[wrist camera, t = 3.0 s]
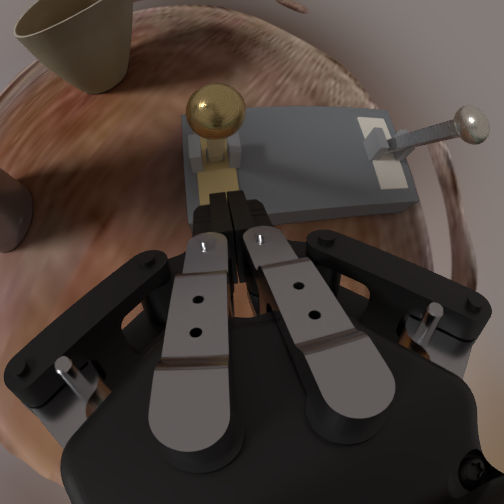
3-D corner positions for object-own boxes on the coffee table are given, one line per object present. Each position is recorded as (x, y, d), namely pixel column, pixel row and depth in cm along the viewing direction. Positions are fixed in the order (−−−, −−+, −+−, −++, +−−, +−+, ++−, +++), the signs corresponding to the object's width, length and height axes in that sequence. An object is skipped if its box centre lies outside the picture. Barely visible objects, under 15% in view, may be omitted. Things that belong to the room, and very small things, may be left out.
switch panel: (193, 235, 30) (183, 212, 23) (185, 135, 32) (177, 97, 25) (401, 212, 32) (434, 191, 25) (374, 127, 34) (397, 96, 27)
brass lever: (200, 173, 27) (185, 136, 12) (197, 142, 26) (181, 77, 12) (232, 169, 27) (253, 129, 12) (229, 138, 27) (245, 71, 12)
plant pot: (126, 34, 35) (106, -39, 19) (170, 72, 34) (154, -23, 18) (49, 85, 32) (8, 18, 17) (77, 134, 31) (20, 53, 15)
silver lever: (373, 161, 29) (477, 140, 14) (370, 134, 28) (469, 98, 13) (395, 161, 29) (499, 144, 14) (392, 135, 28) (491, 105, 14)
